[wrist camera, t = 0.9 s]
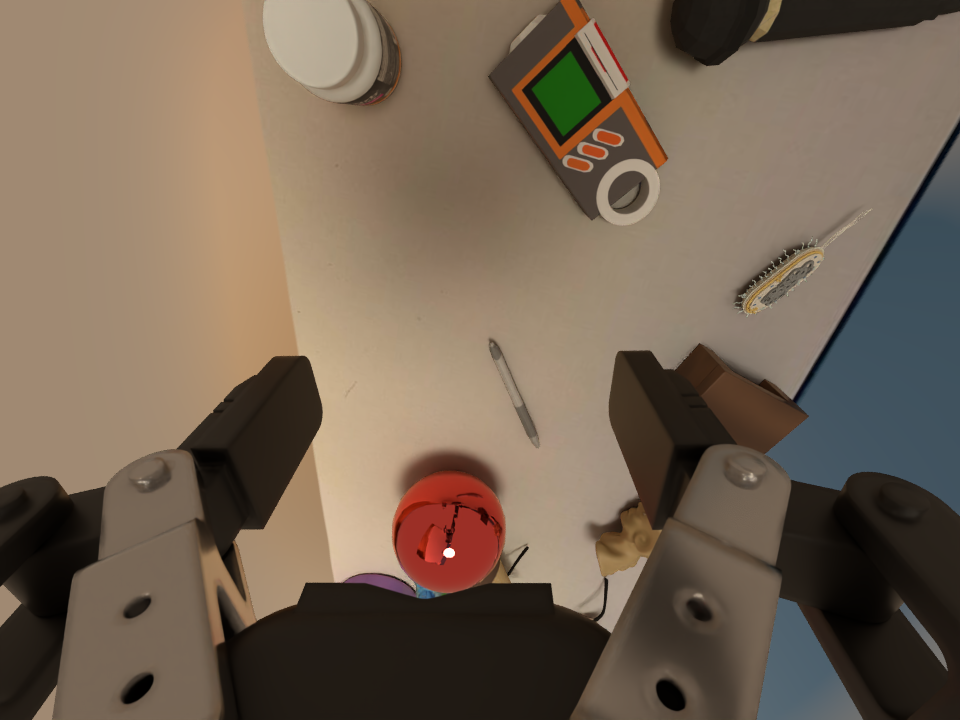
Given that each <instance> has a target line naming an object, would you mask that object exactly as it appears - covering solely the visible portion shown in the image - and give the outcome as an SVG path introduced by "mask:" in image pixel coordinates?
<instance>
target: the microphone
mask: <svg viewBox="0 0 960 720" xmlns="http://www.w3.org/2000/svg"><path fill="white" fill-rule="evenodd" d="M957 11H960V0H675V1H674V3H673V7H672V14H671V20H670V22H671V28H672V34H673V37H674V41H675V44H676V47H677V48H679V49H680V50H682V51H684V52H686V53H688V54H690V55H692V56H694V59H695V60H697V61H699V62H700V63H702V64H704V65H706V66H712V65H719V64H720V63H722V62H723V61H724V60H726V59H727V58H728V57H730V56H731V55H732V54H734V53H735V52H736V51H738V49H739V47H740V46H741V45H743V44H744V43H745V42H747V41H748V40H749V41H752V42H763V41H772V40H782V39H791V38H800V37H810V36H819V35H828V34H838V33H847V32H857V31H866V30H875V29H885V28H894V27H903V26H913V25H916V24H918V23H920V22H922V21H924V20H934V19H935V18H936V17H937V16H938V15H942V14H948V13H952V12H957Z"/></svg>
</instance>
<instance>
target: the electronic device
mask: <svg viewBox="0 0 960 720" xmlns="http://www.w3.org/2000/svg"><path fill="white" fill-rule="evenodd" d="M488 77H489V78H490V80H491V81H492V83H493V84H494V86H495V87H496V88H497V90H498V91H499V93H500V94H501V95H502V97H503V98H504V100H505V101H506V103H507V104H508V105H509V107H510V108H511V110H512V111H513V112H514V114H515V115H516V117H517V118H518V119H519V121H520V122H521V124H522V125H523V127H524V128H525V129H526V131H527V132H528V134H529V135H530V136H531V138H532V139H533V141H534V142H535V144H536V145H537V146H538V148H539V149H540V151H541V152H542V153H543V155H544V156H545V158H546V159H547V160H548V162H549V163H550V165H551V166H552V168H553V169H554V170H555V172H556V173H557V175H558V176H559V177H560V179H561V180H562V182H563V183H564V185H565V186H566V187H567V189H568V190H569V192H570V193H571V194H572V196H573V197H574V199H575V200H576V202H577V203H578V204H579V206H580V207H581V209H582V210H583V211H584V213H585V214H586V215H587V216H588V217H589V218H590V219H591V220H593V219H595V218H596V217H597V216H598V215H601V216H602V217H603V218H604V219H606V220H607V221H608V222H610V223H612V224H615V225H630V224H633V223H635V222H638V221H639V220H641V219H643V218H644V217H645V216H646V215H647V214H648V213H649V212H650V211H651V210H652V209H653V207H654V205H655V204H656V202H657V199H658V196H659V192H660V181H659V176H658V174H657V172H656V169H657V168H659V167H660V166H661V165H662V164H664V163H665V162H666V161H667V159H668V157H667V155H666V154H665V152H664V150H663V148H662V147H661V145H660V143H659V141H658V139H657V138H656V136H655V134H654V132H653V131H652V129H651V127H650V125H649V123H648V122H647V120H646V118H645V116H644V115H643V113H642V111H641V109H640V107H639V106H638V104H637V102H636V100H635V99H634V97H633V95H632V93H631V91H630V90H629V88H628V87H629V85H630V82H629V80H628V79H627V77H626V75H625V73H624V71H623V70H622V68H621V66H620V64H619V62H618V61H617V59H616V57H615V55H614V53H613V52H612V50H611V48H610V46H609V45H608V43H607V41H606V39H605V37H604V36H603V34H602V32H601V30H600V28H599V27H598V25H597V23H596V21H595V19H594V18H592V19H589V17H588V15H587V13H586V12H585V10H584V8H583V6H582V4H581V3H580V1H579V0H561V1H560V2H559V3H558V4H557V5H556V6H555V7H554V8H553V9H552V10H551V11H550V12H549V13H548V14H547V15H538V16H537V17H536V18H535V19H534V20H533V21H532V22H531V23H530V24H529V25H528V26H527V27H526V28H525V29H524V30H523V31H522V32H521V33H520V34H519V35H518V37H517V38H516V39H515V40H514V41H513V42H512V43H511V46H510V54H509V55H508V56H507V57H506V58H505V59H504V60H503V61H502V62H501V63H500V64H499V65H498V66H497V67H496V68H495V69H494V70H493V71H492V72H491V74H490V75H489V76H488ZM640 182H641V189H640V193H639V195H638V197H637V198H636V200H635V201H634V202H633V203H632V204H631V205H629V206H628V207H625V208H622V209H613V208H611V207H610V206H611V205H612V204H613V203H615V202H616V201H617V200H618V199H620V198H621V197H622V196H624V195H625V194H626V193H627V192H629V191H630V190H631V189H632V188H634V187H635V186H636V185H637V184H639V183H640Z"/></svg>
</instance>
